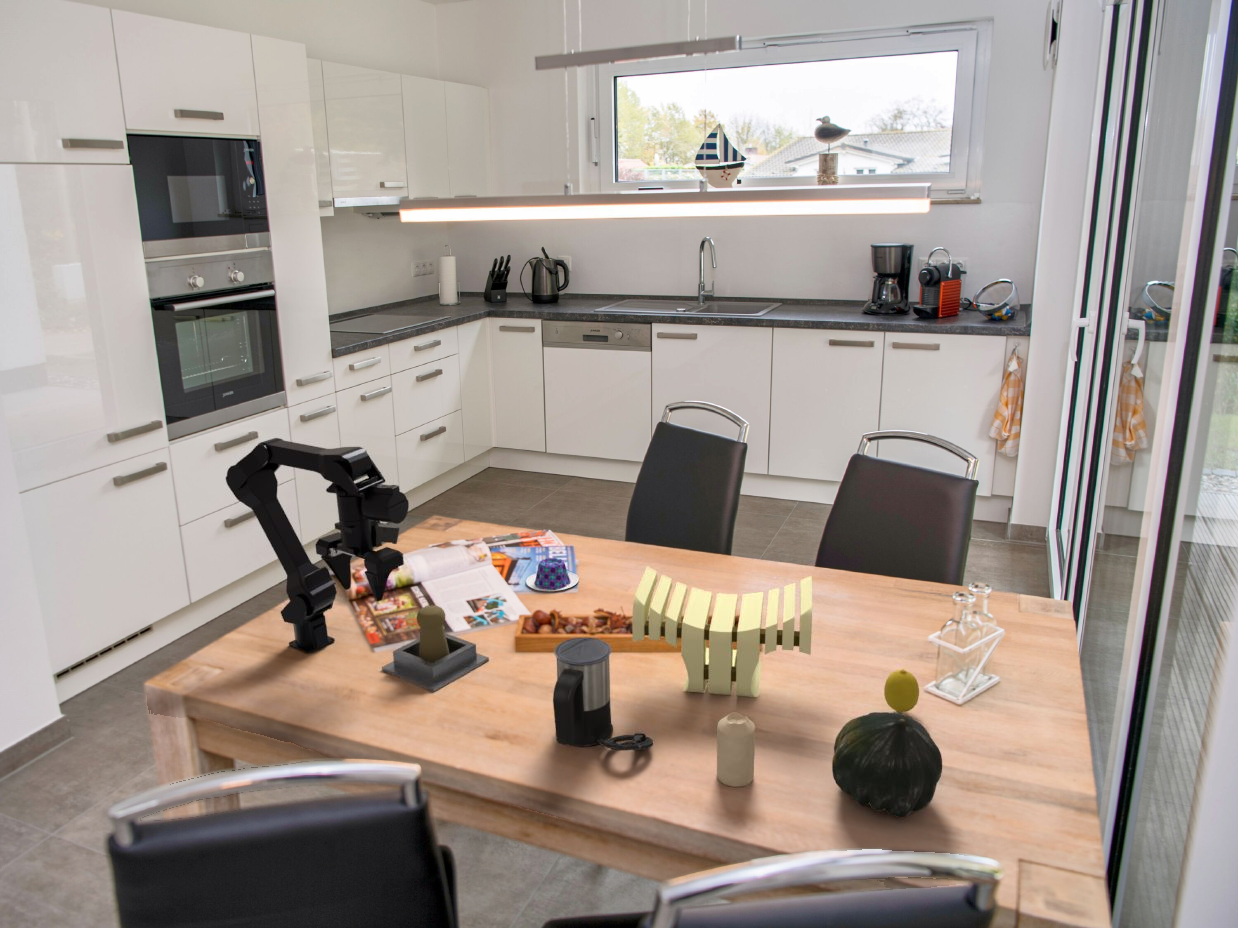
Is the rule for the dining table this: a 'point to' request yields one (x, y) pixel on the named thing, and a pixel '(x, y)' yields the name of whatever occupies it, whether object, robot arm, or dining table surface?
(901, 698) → the lemon
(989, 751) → the dining table surface
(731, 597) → the slatted curved stool
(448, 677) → the collar holder
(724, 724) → the candle
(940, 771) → the squash
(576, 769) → the dining table surface
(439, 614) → the cork
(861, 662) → the dining table surface
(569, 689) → the milk frother
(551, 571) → the pudding
